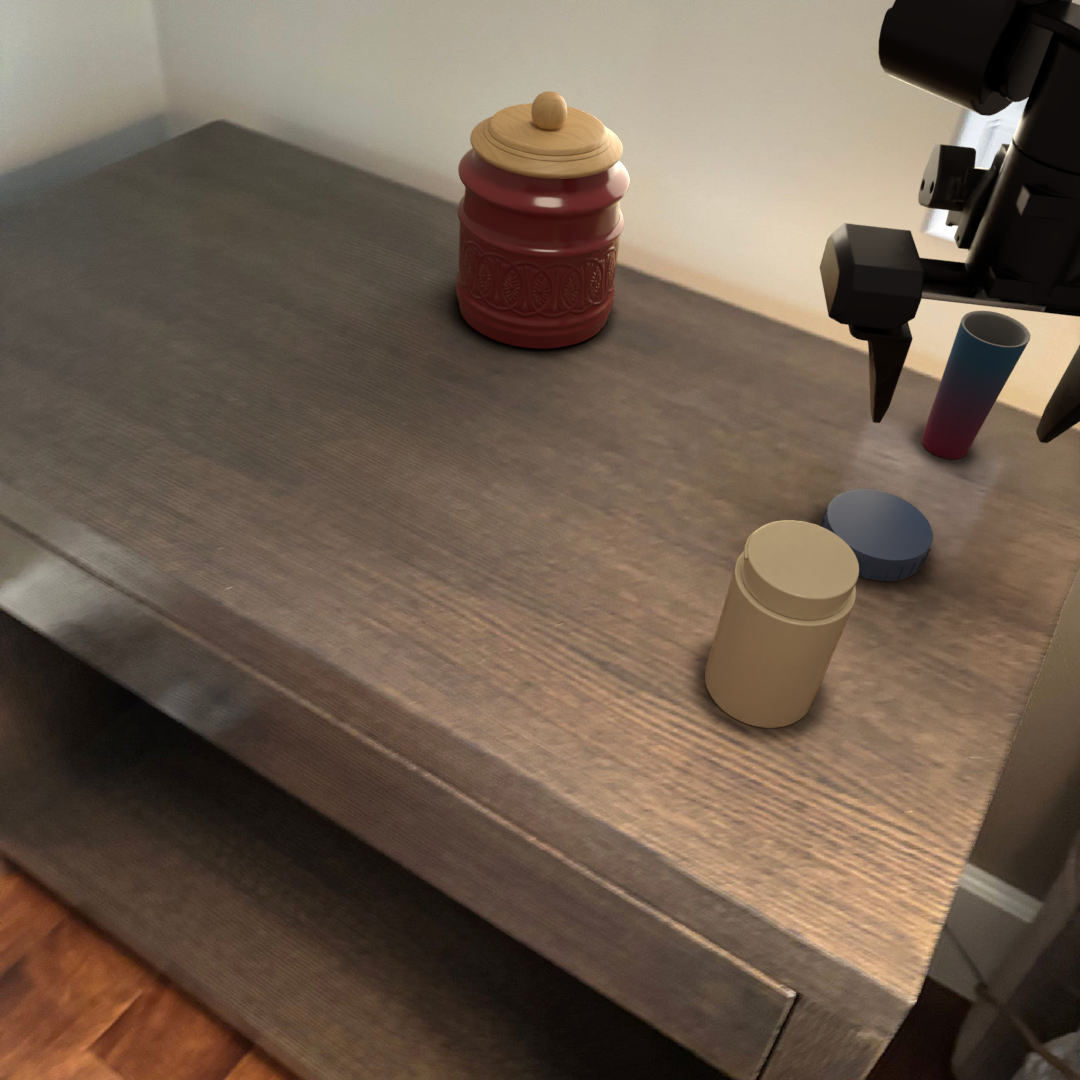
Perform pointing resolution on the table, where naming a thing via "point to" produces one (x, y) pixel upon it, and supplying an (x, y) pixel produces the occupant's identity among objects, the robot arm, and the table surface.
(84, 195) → the table surface
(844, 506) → the lid
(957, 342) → the cup
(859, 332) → the robot arm
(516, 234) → the kitchen canister
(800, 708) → the jar
